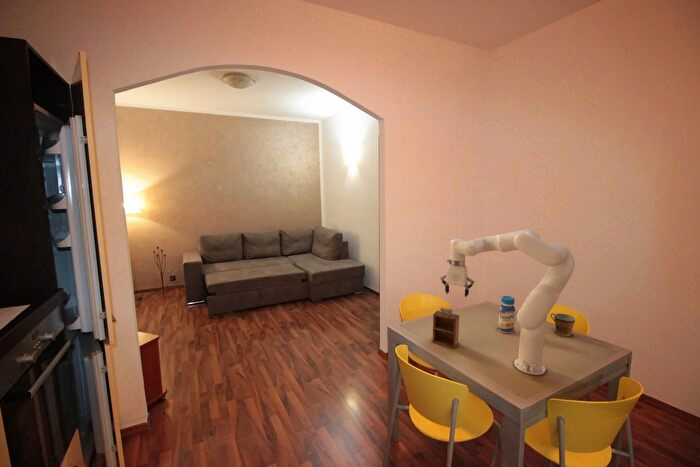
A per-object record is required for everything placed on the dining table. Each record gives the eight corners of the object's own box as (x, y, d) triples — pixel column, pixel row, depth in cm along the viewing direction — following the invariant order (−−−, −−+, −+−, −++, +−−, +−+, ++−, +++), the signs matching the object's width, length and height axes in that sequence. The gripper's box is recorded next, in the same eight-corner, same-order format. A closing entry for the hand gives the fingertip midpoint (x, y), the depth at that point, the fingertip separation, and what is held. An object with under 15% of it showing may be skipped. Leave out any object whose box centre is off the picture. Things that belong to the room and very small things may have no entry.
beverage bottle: (514, 329, 186) (516, 296, 183) (513, 335, 179) (515, 301, 176) (498, 326, 191) (500, 294, 188) (497, 331, 183) (499, 298, 180)
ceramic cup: (577, 335, 178) (579, 318, 176) (565, 339, 174) (567, 321, 172) (555, 326, 190) (557, 310, 188) (543, 329, 186) (545, 313, 184)
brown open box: (454, 348, 166) (456, 312, 163) (432, 342, 173) (433, 308, 170) (458, 343, 171) (459, 309, 168) (436, 337, 178) (437, 304, 175)
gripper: (438, 262, 167) (438, 294, 169) (473, 266, 157) (472, 299, 160) (443, 259, 173) (442, 290, 176) (476, 263, 164) (475, 295, 166)
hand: (456, 294), depth 168 cm, fingers open, 9 cm apart
